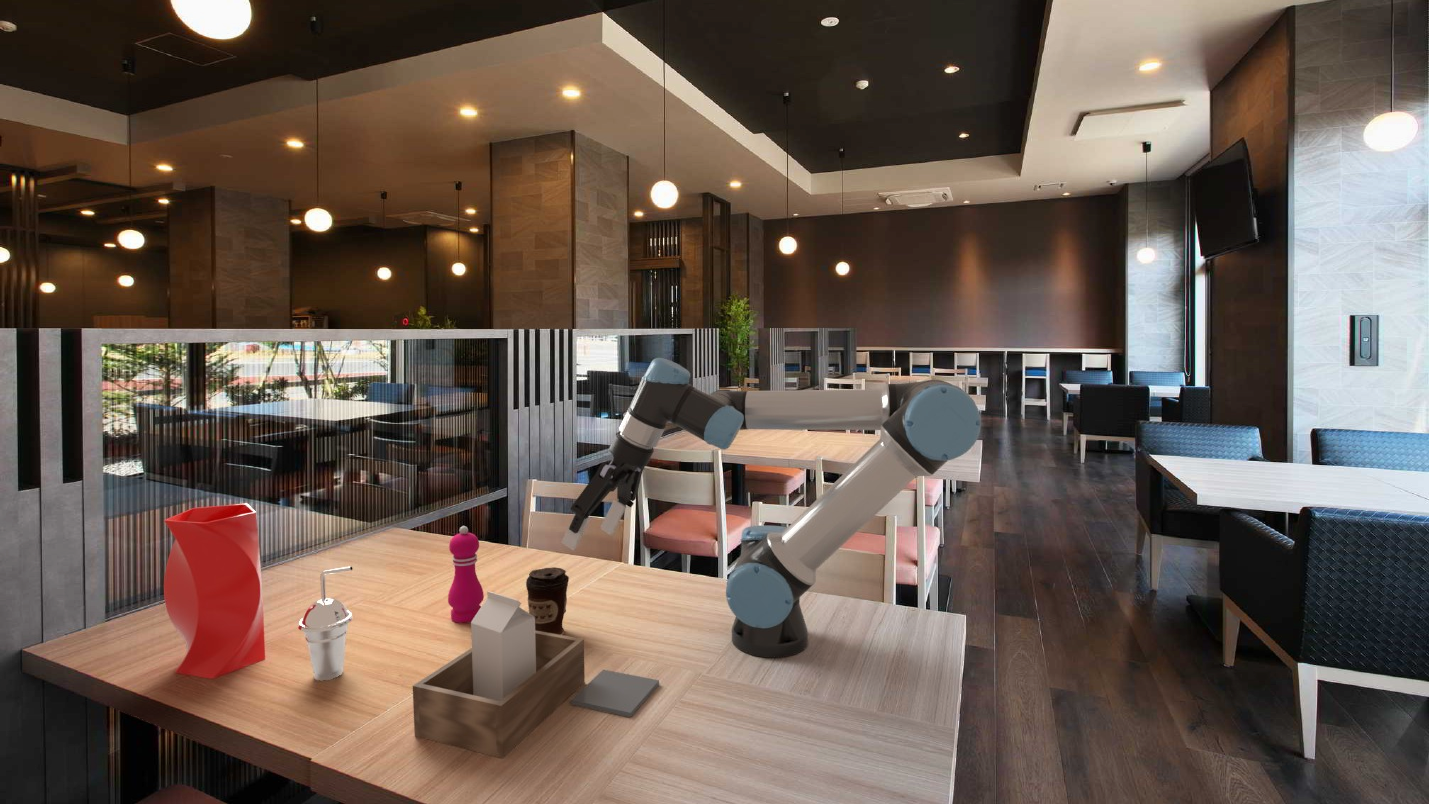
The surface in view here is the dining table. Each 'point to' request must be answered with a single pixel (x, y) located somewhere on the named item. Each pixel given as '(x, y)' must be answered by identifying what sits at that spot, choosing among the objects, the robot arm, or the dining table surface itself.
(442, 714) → the crate
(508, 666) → the milk carton
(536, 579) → the coffee cup
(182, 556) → the vase
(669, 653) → the dining table surface
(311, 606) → the cup with straw
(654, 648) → the dining table surface
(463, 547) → the pepper mill
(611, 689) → the coaster
